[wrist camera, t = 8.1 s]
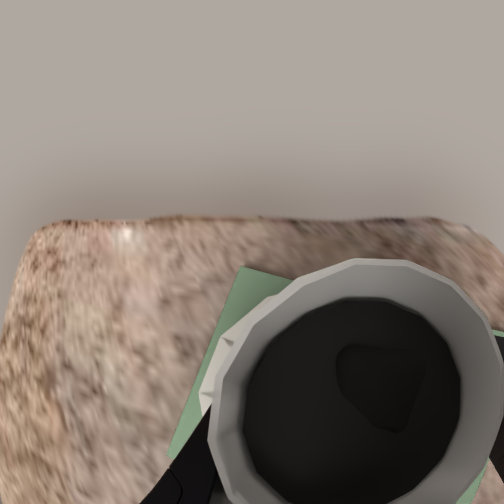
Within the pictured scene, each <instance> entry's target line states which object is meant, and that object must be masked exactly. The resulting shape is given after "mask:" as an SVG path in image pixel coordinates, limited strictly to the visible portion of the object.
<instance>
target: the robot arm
mask: <svg viewBox="0 0 504 504" xmlns="http://www.w3.org/2000/svg"><path fill="white" fill-rule="evenodd" d="M494 337H495V339H496V342H497V345H498V347H499V350H500V353H501V356H502V359H503V362H504V337H501V336H496V335H494ZM211 405H212V403H211ZM211 405H210V406H209V408H208V409H207V411H206V413H205V414H204V416H203V417H202V419H201V420H200V422H199V423H198V425H197V426H196V428H195V429H194V431H193V432H192V434H191V435H190V437H189V438H188V440H187V441H186V443H185V444H184V446H183V447H182V449H181V450H180V452H179V453H178V455H177V456H176V457H175V459H174V460H173V462H172V463H171V465H170V466H169V468H170V469H169V468H168V469H167V470H166V472H165V473H164V475H163V476H162V477H161V479H160V480H159V481H158V483H157V484H156V485H155V486H154V488H153V489H152V490H151V491H150V493H149V494H148V495H147V496H146V497H145V498H144V499H143V500H142V501H141V503H140V504H233V503H232V502H231V501H230V500H229V499H228V497H227V495H226V492H225V490H224V487H223V484H222V482H221V479H220V476H219V474H218V471H217V468H216V465H215V462H214V459H213V456H212V453H211V450H210V447H209V444H208V441H207V439H208V430H209V422H210V413H211ZM489 458H490V460H491V462H492V463H493V465H494V466H495V469H496V470H497V472H498V474H499V476H500V477H501V479H502V481H503V483H504V415H503V419H502V422H501V425H500V428H499V431H498V434H497V437H496V439H495V442H494V445H493V447H492V450H491V452H490V455H489Z"/></svg>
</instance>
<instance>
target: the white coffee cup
mask: <svg viewBox="0 0 504 504" xmlns="http://www.w3.org/2000/svg"><path fill="white" fill-rule="evenodd" d="M503 415H504V362H503V359H502V356H501V353H500V350H499V347H498V345H497V342H496V339H495V337H494V334H493V331H492V329H491V326H490V324H489V322H488V319H487V317H486V316H485V314H484V313H483V312H482V311H481V310H480V309H479V308H478V306H477V305H476V304H475V303H474V302H473V301H472V300H471V299H470V298H469V297H468V296H467V295H466V293H465V292H464V291H463V290H462V289H461V288H460V287H459V286H458V285H457V284H456V283H455V282H454V281H453V280H451V279H449V278H446V277H444V276H442V275H440V274H438V273H436V272H433V271H431V270H429V269H427V268H425V267H422V266H420V265H418V264H416V263H413V262H411V261H409V260H396V259H369V258H352V259H349V260H347V261H344V262H341V263H338V264H335V265H333V266H330V267H327V268H324V269H321V270H318V271H315V272H312V273H309V274H306V275H304V276H301V277H298V278H297V279H295V280H294V281H293V282H292V283H291V284H289V285H288V286H287V287H286V288H285V289H284V290H282V291H281V292H280V293H279V294H278V295H276V296H275V297H274V298H273V299H271V300H270V301H269V302H268V303H267V304H265V305H264V306H263V307H262V308H261V309H259V310H258V311H257V312H256V313H254V314H253V315H252V316H251V317H249V318H248V320H247V321H246V323H245V325H244V327H243V329H242V330H241V332H240V334H239V336H238V337H237V339H236V341H235V343H234V344H233V346H232V348H231V350H230V351H229V353H228V355H227V357H226V358H225V360H224V362H223V364H222V365H221V367H220V369H219V371H218V372H217V374H216V376H215V381H214V389H213V397H212V405H211V413H210V422H209V430H208V439H207V441H208V444H209V447H210V450H211V453H212V456H213V459H214V462H215V465H216V468H217V471H218V474H219V476H220V479H221V482H222V484H223V487H224V490H225V492H226V495H227V497H228V499H229V500H230V501H231V502H232V503H233V504H455V503H456V502H457V500H458V499H459V498H460V497H461V496H462V495H463V494H464V492H465V491H466V490H467V489H468V488H469V486H470V485H471V484H472V483H473V482H474V480H475V479H476V478H477V476H478V475H479V474H480V472H481V471H482V470H483V468H484V466H485V464H486V462H487V459H488V457H489V455H490V452H491V450H492V447H493V445H494V442H495V439H496V437H497V434H498V431H499V428H500V425H501V422H502V419H503Z"/></svg>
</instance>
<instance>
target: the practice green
mask: <svg viewBox="0 0 504 504" xmlns="http://www.w3.org/2000/svg"><path fill="white" fill-rule="evenodd" d="M293 281H294V280H290V279H287V278H283V277H279V276H275V275H272V274H268V273H264V272H261V271H257V270H253V269H250V268H246V267H242V266H240V269H239V271H238V274H237V276H236V279H235V281H234V284H233V286H232V289H231V291H230V294H229V296H228V299H227V301H226V304H225V306H224V309H223V312H222V314H221V317H220V319H219V322H218V324H217V327H216V329H215V332H214V334H213V337H212V339H211V342H210V344H209V347H208V349H207V352H206V355H205V357H204V360H203V362H202V365H201V367H200V370H199V372H198V375H197V377H196V380H195V383H194V385H193V388H192V390H191V393H190V395H189V398H188V400H187V403H186V406H185V408H184V411H183V413H182V416H181V418H180V421H179V423H178V426H177V429H176V431H175V434H174V436H173V439H172V442H171V444H170V447H169V449H168V452H167V454H166V456H168V457H170V458H172V459H175V457H176V456H177V455H178V453H179V452H180V450H181V449H182V447H183V446H184V444H185V443H186V441H187V440H188V438H189V437H190V435H191V434H192V432H193V431H194V429H195V428H196V426H197V425H198V423H199V422H200V420H201V419H202V417H203V416H204V414H205V413H206V411H207V409H208V408H209V406H210V405H211V403H212V397H213V389H214V381H215V376H216V374H217V372H218V371H219V369H220V367H221V365H222V364H223V362H224V360H225V358H226V357H227V355H228V353H229V351H230V350H231V348H232V346H233V344H234V343H235V341H236V339H237V337H238V336H239V334H240V332H241V330H242V329H243V327H244V325H245V323H246V321H247V320H248V318H249V317H251V316H252V315H253V314H254V313H256V312H257V311H258V310H259V309H261V308H262V307H263V306H264V305H265V304H267V303H268V302H269V301H270V300H271V299H273V298H274V297H275V296H276V295H278V294H279V293H280V292H281V291H282V290H284V289H285V288H286V287H287V286H288V285H289V284H291V283H292V282H293ZM492 331H493V334H494V335H496V336H501V337H504V332H501V331H497V330H492ZM488 461H489V457H488V459H487V462H486V464H485V466H484V468H483V470H482V471H481V472H480V474H479V475H478V476H477V478H476V479H475V480H474V482H473V483H472V484H471V485H470V486H469V488H468V489H467V490H466V491H465V492H464V494H463V495H462V496H461V497H460V498H459V499H458V500H457V502H456V503H455V504H471V502H472V500H473V498H474V496H475V494H476V491H477V489H478V487H479V484H480V482H481V479H482V477H483V474H484V472H485V469H486V466H487V463H488Z"/></svg>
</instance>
